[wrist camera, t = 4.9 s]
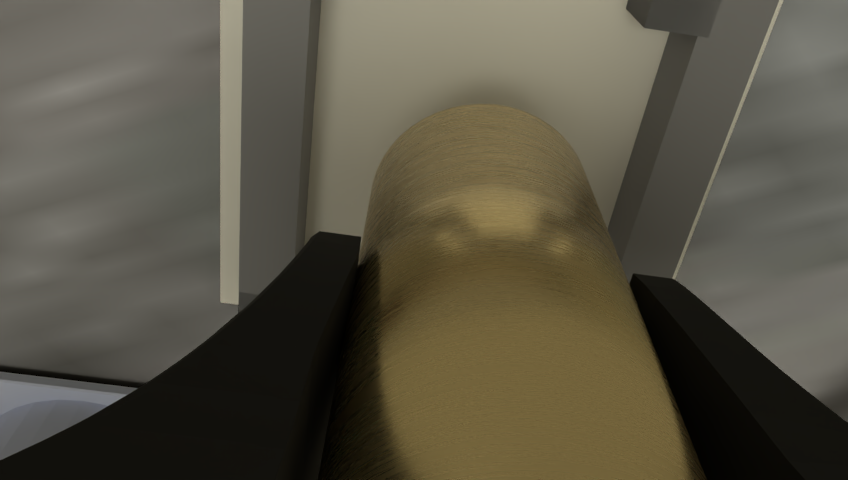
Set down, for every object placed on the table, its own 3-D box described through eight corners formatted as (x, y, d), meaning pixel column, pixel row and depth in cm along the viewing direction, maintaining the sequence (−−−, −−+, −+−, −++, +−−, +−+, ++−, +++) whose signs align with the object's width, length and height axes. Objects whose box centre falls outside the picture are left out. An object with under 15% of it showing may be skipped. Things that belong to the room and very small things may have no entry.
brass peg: (563, 306, 14) (674, 758, 8) (363, 285, 14) (290, 727, 7) (611, 117, 12) (823, 501, 5) (379, 91, 12) (298, 452, 5)
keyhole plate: (636, 332, 20) (660, 396, 18) (230, 280, 19) (203, 340, 17) (898, -374, 12) (997, -414, 10) (236, -499, 11) (189, -570, 9)
